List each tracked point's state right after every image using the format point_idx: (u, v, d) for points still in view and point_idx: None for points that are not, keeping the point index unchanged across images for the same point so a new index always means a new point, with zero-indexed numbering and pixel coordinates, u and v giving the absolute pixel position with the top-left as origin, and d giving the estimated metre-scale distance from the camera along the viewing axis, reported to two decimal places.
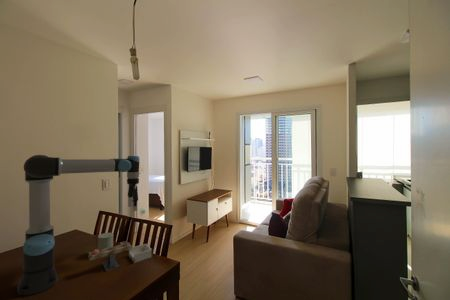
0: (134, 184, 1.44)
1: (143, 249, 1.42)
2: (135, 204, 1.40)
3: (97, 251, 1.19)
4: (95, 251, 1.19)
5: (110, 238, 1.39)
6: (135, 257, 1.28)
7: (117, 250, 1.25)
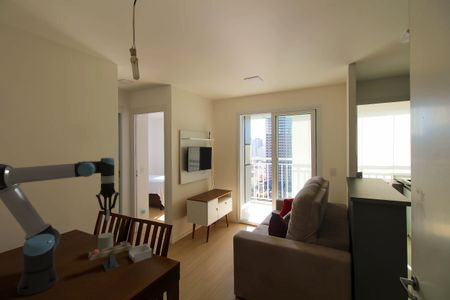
0: None
1: (143, 249, 1.42)
2: (104, 213, 1.31)
3: (97, 251, 1.19)
4: (95, 251, 1.19)
5: (110, 238, 1.39)
6: (135, 257, 1.28)
7: (117, 250, 1.25)
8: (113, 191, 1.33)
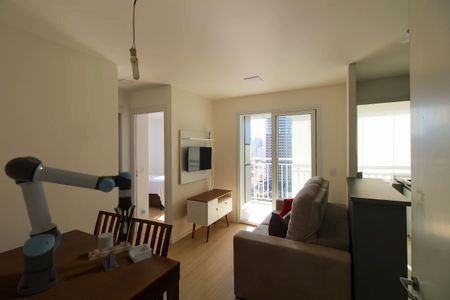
0: None
1: (143, 249, 1.42)
2: (121, 226, 1.35)
3: (97, 251, 1.19)
4: (95, 251, 1.19)
5: (110, 238, 1.39)
6: (135, 257, 1.28)
7: (117, 250, 1.25)
8: (130, 204, 1.37)
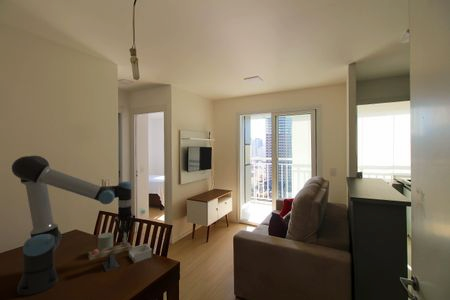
0: None
1: (143, 249, 1.42)
2: (121, 236, 1.35)
3: (97, 251, 1.19)
4: (95, 251, 1.19)
5: (110, 238, 1.39)
6: (135, 257, 1.28)
7: (117, 250, 1.25)
8: (130, 214, 1.37)
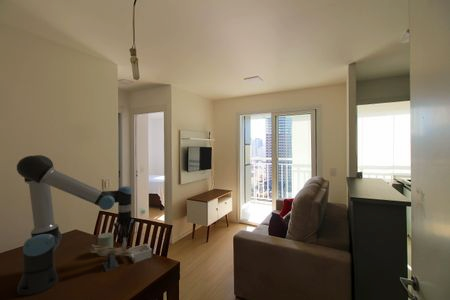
0: None
1: (143, 249, 1.42)
2: None
3: None
4: None
5: (110, 238, 1.39)
6: (135, 257, 1.28)
7: (117, 252, 1.25)
8: (130, 219, 1.37)
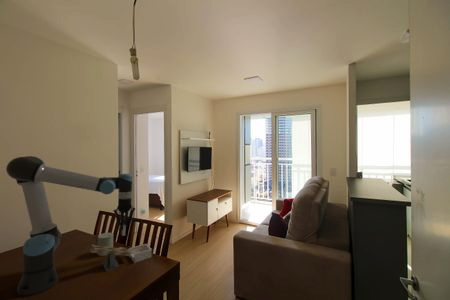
0: None
1: (143, 249, 1.42)
2: (120, 228, 1.35)
3: None
4: None
5: (110, 238, 1.39)
6: (135, 257, 1.28)
7: (117, 252, 1.25)
8: (130, 206, 1.37)
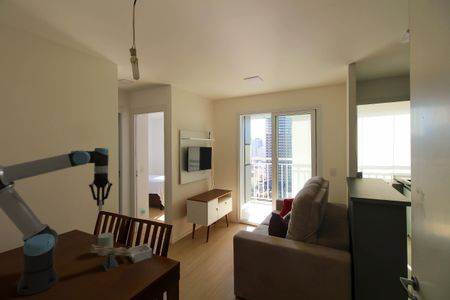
0: None
1: (143, 249, 1.42)
2: None
3: None
4: None
5: (110, 238, 1.39)
6: (135, 257, 1.28)
7: (117, 252, 1.25)
8: (106, 181, 1.33)
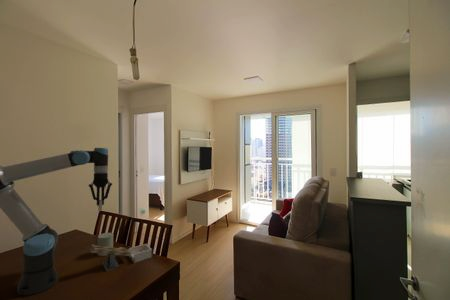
0: None
1: (143, 249, 1.42)
2: None
3: None
4: None
5: (110, 238, 1.39)
6: (135, 257, 1.28)
7: (117, 252, 1.25)
8: (106, 181, 1.33)
